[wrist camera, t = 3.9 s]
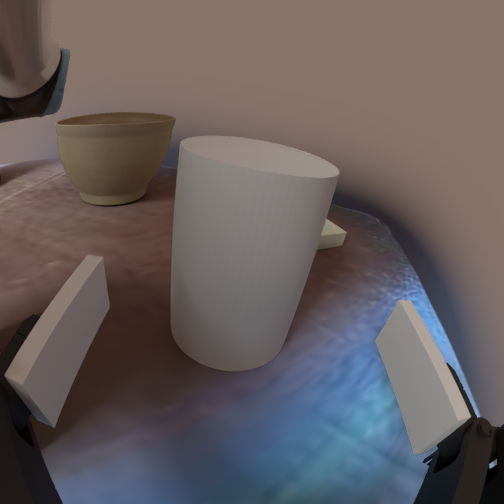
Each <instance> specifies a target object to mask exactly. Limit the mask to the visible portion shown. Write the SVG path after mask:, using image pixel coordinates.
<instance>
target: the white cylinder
mask: <svg viewBox="0 0 504 504" xmlns="http://www.w3.org/2000/svg"><path fill="white" fill-rule="evenodd" d="M338 176H339V170H338V169H337V168H336V167H335V166H334V165H333V164H331V163H329V162H327V161H326V160H324V159H322V158H319V157H317V156H315V155H312V154H309V153H307V152H304V151H301V150H298V149H294V148H291V147H287V146H284V145H280V144H275V143H271V142H266V141H261V140H255V139H248V138H240V137H231V136H197V137H190V138H187V139H184V140H182V141H181V143H180V150H179V160H178V169H177V180H176V192H175V204H174V219H173V237H172V260H171V331H172V335H173V338H174V340H175V341H176V343H177V345H178V346H179V347H180V348H181V350H182V351H183V352H184V353H185V354H187V355H188V356H189V357H190V358H192V359H193V360H195V361H197V362H198V363H200V364H203V365H205V366H207V367H210V368H214V369H218V370H223V371H247V370H252V369H255V368H258V367H261V366H263V365H265V364H267V363H268V362H270V361H271V360H273V359H274V358H275V357H276V356H277V355H278V354H279V352H280V351H281V349H282V347H283V344H284V342H285V339H286V336H287V334H288V331H289V328H290V326H291V323H292V320H293V317H294V315H295V312H296V309H297V306H298V303H299V301H300V298H301V295H302V292H303V289H304V286H305V283H306V280H307V277H308V274H309V271H310V268H311V265H312V262H313V259H314V256H315V253H316V250H317V247H318V244H319V241H320V237H321V234H322V231H323V228H324V224H325V221H326V218H327V214H328V211H329V208H330V204H331V200H332V197H333V194H334V190H335V187H336V183H337V179H338Z"/></svg>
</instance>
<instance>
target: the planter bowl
mask: <svg viewBox="0 0 504 504" xmlns="http://www.w3.org/2000/svg"><path fill="white" fill-rule="evenodd" d="M175 119H176V118H175V117H173V116H170V115H164V114H155V113H142V112H115V113H100V114H99V113H98V114H89V115H83V116H76V117H71V118H66V119H62V120H59V121H57V122H56V123H55V128H56V132H57V144H58V151H59V155H60V159H61V162H62V165H63V167H64V169H65V171H66V173H67V175H68V177H69V178H70V180H71V181H72V183H73V184H74V185H75V186H76V187H77V188H78V189H79V193H80V197H81V199H82V200H83V201H85V202H87V203H90V204H95V205H118V204H125V203H129V202H132V201H135V200H137V199H139V198H141V197H142V196H144V194H145V193H146V189H147V185H148V184H149V182H150V181H151V180H152V179H153V177H154V176H155V175H156V173H157V171H158V170H159V168H160V166H161V164H162V162H163V160H164V158H165V156H166V154H167V151H168V148H169V144H170V141H171V135H172V129H173V127H174V124H175Z"/></svg>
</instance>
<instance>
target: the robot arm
mask: <svg viewBox="0 0 504 504" xmlns="http://www.w3.org/2000/svg"><path fill="white" fill-rule="evenodd" d="M51 5H52V0H0V123H3V122H9V121H14V120H19V119H25V118H32V117H43V116H45V115H50V114H54V113H56V112H58V110H59V109H60V107H61V104H62V99H63V93H64V86H65V83H66V77H67V71H68V65H69V58H70V51H69V50H68V49H63V48H60V47H59V44H58V43H57V41H56V40H55V39H54V38H53V37H51V35H50V34H51V31H50V30H51V29H50V28H51ZM0 179H1V178H0ZM109 308H110V304H109V297H108V291H107V284H106V276H105V268H104V259H103V257H99V256H93V255H87V256H86V258H85V259H84V260H83V261H82V262H81V264H80V265H79V266H78V267H77V269H76V270H75V271H74V272H73V274H72V275H71V276H70V278H69V279H68V280H67V281H66V283H65V284H64V285H63V287H62V288H61V289H60V291H59V292H58V293H57V295H56V296H55V297H54V299H53V300H52V302H51V303H50V304H49V306H48V307H47V309H46V310H45V311H44V313H43V314H42V316H41V317H40V316H37V315H34V314H33V315H32V316H30V317H29V318H28V319H26V320H25V321H24V322H23V323H22V324H21V326H20V327H19V329H18V330H17V333H16V334H15V335H14V336H13V338H12V339H11V342H9V344H8V345H7V347H6V348H5V350H4V352H3V353H2V355H1V356H0V504H63V503H62V501H61V499H60V497H59V495H58V492H57V490H56V488H55V486H54V484H53V482H52V479H51V477H50V475H49V472H48V470H47V467H46V465H45V462H44V460H43V457H42V455H41V452H40V449H39V446H38V443H37V440H36V437H35V434H34V431H33V428H32V425H31V422H30V420H29V417H30V415H31V413H32V414H33V415H34V417H35V418H36V419H37V420H38V421H40V422H43V423H45V424H47V425H49V426H52V427H54V428H55V426H56V423H57V420H58V418H59V415H60V413H61V410H62V408H63V405H64V403H65V400H66V398H67V395H68V393H69V391H70V388H71V386H72V384H73V382H74V379H75V377H76V375H77V373H78V370H79V368H80V366H81V364H82V362H83V360H84V357H85V355H86V353H87V351H88V349H89V347H90V345H91V343H92V341H93V339H94V337H95V335H96V333H97V331H98V329H99V327H100V325H101V323H102V321H103V319H104V317H105V315H106V314H107V312H108V310H109ZM375 342H376V345H377V348H378V350H379V353H380V355H381V358H382V360H383V363H384V366H385V368H386V371H387V374H388V377H389V379H390V382H391V385H392V388H393V391H394V393H395V396H396V399H397V402H398V405H399V408H400V411H401V414H402V417H403V420H404V424H405V427H406V430H407V433H408V436H409V440H410V443H411V446H412V450H413V453H414V455H417V454H421V453H425V452H428V451H429V450H431V449H432V448H433V447H435V446H436V445H437V447H438V450H437V451H435V452H434V453H433V454H431V455H430V456H428V457H427V458H425V459H424V461H423V463H426V462H427V461H429V460H430V459H432V460H431V461H430V462H429V463H428V464H427V465H429V468H428V471H427V474H426V476H425V479H424V481H423V483H422V486H421V488H420V490H419V493H418V495H417V497H416V499H415V501H414V504H504V424H503V425H502V426H501V427H493V426H491V424H490V423H489V422H488V421H487V420H486V419H485V418H482V417H480V418H477V416H476V414H475V412H474V410H473V407H472V405H471V403H470V401H469V399H468V396H467V394H466V392H465V390H463V386H462V384H461V383H460V380H459V378H458V376H457V374H456V372H455V370H454V369H453V368H452V367H451V366H450V365H449V364H448V363H446V362H445V360H444V358H443V356H442V355H441V353H440V351H439V349H438V347H437V345H436V343H435V342H434V340H433V338H432V336H431V334H430V333H429V331H428V329H427V327H426V326H425V324H424V322H423V320H422V319H421V317H420V315H419V314H418V312H417V310H416V309H415V307H414V305H413V304H412V302H411V301H407V300H398V302H397V304H396V305H395V307H394V309H393V311H392V313H391V315H390V316H389V318H388V320H387V322H386V323H385V325H384V327H383V328H382V330H381V332H380V333H379V335H378V337H377V338H376V340H375ZM496 459H497V465H495V466H494V467H492V468H491V469H490V468H489V464H490V463H491V462H493V461H494V460H496Z"/></svg>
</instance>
